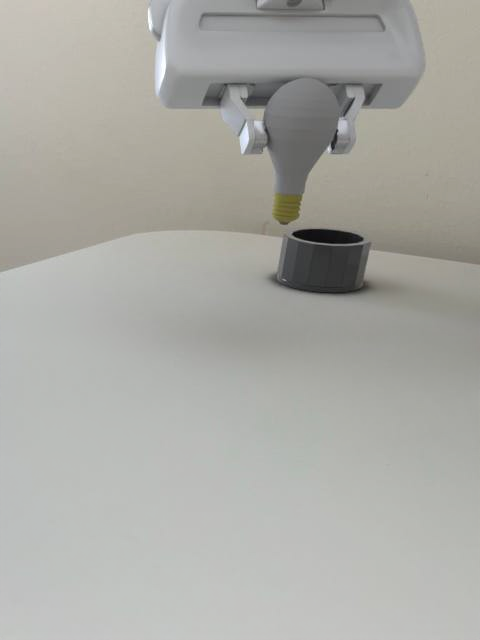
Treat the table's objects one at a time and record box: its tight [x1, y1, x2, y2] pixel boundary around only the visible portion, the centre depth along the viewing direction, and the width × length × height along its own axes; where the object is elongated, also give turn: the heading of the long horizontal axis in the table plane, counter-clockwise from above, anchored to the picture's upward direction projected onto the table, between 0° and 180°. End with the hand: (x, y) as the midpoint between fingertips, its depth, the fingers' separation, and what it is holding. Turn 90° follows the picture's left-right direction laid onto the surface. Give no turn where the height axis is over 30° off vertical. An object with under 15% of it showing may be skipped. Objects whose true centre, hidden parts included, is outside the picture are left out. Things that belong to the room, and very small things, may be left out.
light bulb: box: [262, 78, 340, 226], centre depth 75 cm, size 6×5×10 cm
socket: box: [276, 226, 373, 294], centre depth 102 cm, size 9×9×4 cm
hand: (299, 149), depth 74 cm, fingers closed on light bulb, 5 cm apart
